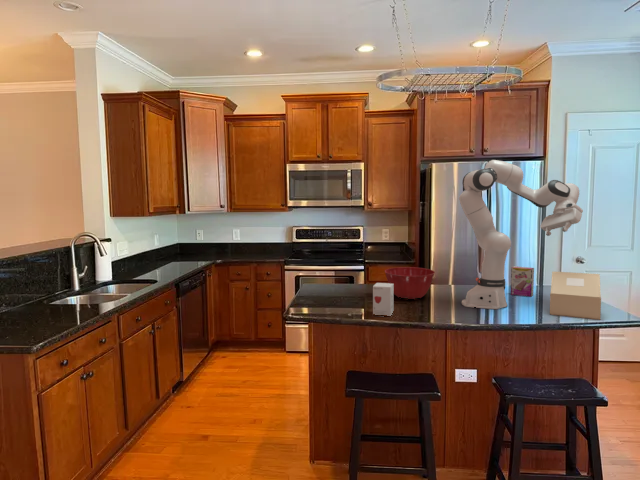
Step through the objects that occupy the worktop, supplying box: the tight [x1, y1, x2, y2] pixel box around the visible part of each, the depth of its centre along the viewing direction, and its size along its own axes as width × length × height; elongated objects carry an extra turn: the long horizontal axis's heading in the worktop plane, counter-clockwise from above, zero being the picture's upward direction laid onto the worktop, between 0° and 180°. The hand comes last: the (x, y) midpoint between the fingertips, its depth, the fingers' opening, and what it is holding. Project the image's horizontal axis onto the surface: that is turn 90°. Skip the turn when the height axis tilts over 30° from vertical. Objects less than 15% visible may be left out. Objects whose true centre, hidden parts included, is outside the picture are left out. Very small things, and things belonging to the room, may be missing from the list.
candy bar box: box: [510, 265, 535, 298], centre depth 235 cm, size 11×5×16 cm, turn 50°
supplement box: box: [372, 282, 395, 317], centre depth 203 cm, size 9×9×15 cm
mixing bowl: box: [384, 266, 435, 300], centre depth 238 cm, size 28×28×15 cm
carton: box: [549, 292, 602, 321], centre depth 197 cm, size 16×20×10 cm
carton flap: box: [550, 270, 602, 299], centre depth 194 cm, size 15×20×1 cm
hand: (556, 233), depth 204 cm, fingers open, 8 cm apart
